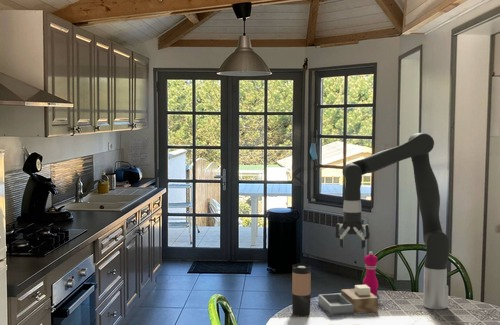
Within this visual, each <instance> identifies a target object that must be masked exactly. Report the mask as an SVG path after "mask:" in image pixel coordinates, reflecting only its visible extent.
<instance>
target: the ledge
mask: <svg viewBox="0 0 500 325" xmlns="http://www.w3.org/2000/svg"><path fill="white" fill-rule="evenodd" d="M340 294H342V295H343V296H344V297H345V298H346V299H348V300H349V301H350V302H351V303H352V304H353V305H354V314H365V313H367V314H368V313H378V311H379V310H378V309H379V308H378V307H379V298H378V297H377V295H373V294H372V293H371V292H370V295H358V294H357V293H355V288H347V289H346V288H344V289H340Z"/></svg>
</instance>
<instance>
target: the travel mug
mask: <svg viewBox="0 0 500 325" xmlns="http://www.w3.org/2000/svg"><path fill="white" fill-rule="evenodd" d="M291 272H292V278H291V279H292V280H291V282H292V283H291V286H292V287H291V288H292V289H291V302H292V304H291V305H292V314H293V315H294V316H296V317H308V316H309V315H310V313H311V298H312V297H311V296H312V295H311V294H312V293H311V290H312V289H311V288H312V286H311V285H312V281H311V279H312V278H311V276H312V274H311V272H312V271H311V265H310V264H307V263H296V264H292V271H291Z"/></svg>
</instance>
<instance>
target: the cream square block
mask: <svg viewBox="0 0 500 325" xmlns="http://www.w3.org/2000/svg"><path fill="white" fill-rule="evenodd" d="M354 289H355V293H357V294H358V295H370V287H368V286H367V285H363V284H355V285H354Z"/></svg>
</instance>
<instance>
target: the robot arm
mask: <svg viewBox="0 0 500 325" xmlns="http://www.w3.org/2000/svg"><path fill="white" fill-rule="evenodd" d="M434 146H435V140H434V137H432V136H431V135H430V134H428V133H424V132H415V133H413V134H411V135H410V137H409V138H408V139H407V141H406V142H404V143H402V144H400V145H398V146H395V147H391V148H388V149H384V150H381V151H378V152H376V153H373V154H371V155H369V156H367V157H364V158H362V159H358V160H354V161H352V162H350V163H347V164H346V165H344V167H343V169H342V175H343V177H344V178H345V180H344V181H345V187H344V189H343V204H342V206H343V208H342V209H343V210H342V211H343V223H340V222H338V223H336V225H335V238H337V239H339V245H340V247H341V249H344V247H345V239H344V238H345V236H346V235H354V236H355V235H358V237H360V240H361V249H362V250H364V249H365V248H366V240H369V239H370V237H371V235H370V234H371V233H370V231H371V230H370V224H368V223H367V224H363V223H362V201H361V200H362V198H361V196H362V195H361V186H362V177H363V176H364V175H366V174H371V173H375V172H377V171H380V170H382V169H385V168H387V167H389V166H391V165H394V164H396V163H399V162H401V161H404V160H406V159H411V162H412V168H413V177H414V184H415V192H416V193H415V194H416V198H417V202H418V207H419V212H420V215H421V221H422V222H421V223H422V236H423V237H422V239H423V243H424V245H425V246H426V254H425V255H426V256H425V259H424V262H423V264H424V266H423V299H422V300H423V301H422V302H423V304H422V305H423V307H425V308H426V309H429V310H440V311H441V310H444V309H447V308H449V285H447V280H448V279H447V278H448V276H447V274H448V273H447V272H448V270H447V268H448V262H449V256H450V241H449V240H450V239H449V237H448V235H447V234H446V233H444V232H443V228H442V225H441V221H440V207H441V206H440V205H441V194H440V189H439V188H440V187H439V184H438V181H437V178H436V176H435V173H434V171H433V168H432V166H431V162H430V152H431V151H432V150H433V149H434ZM342 228H343V230H344V231H343V232H342V234H340V232H341V231H340V229H342ZM362 229H363V230H365V235H364V233H363V231H362Z"/></svg>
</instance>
